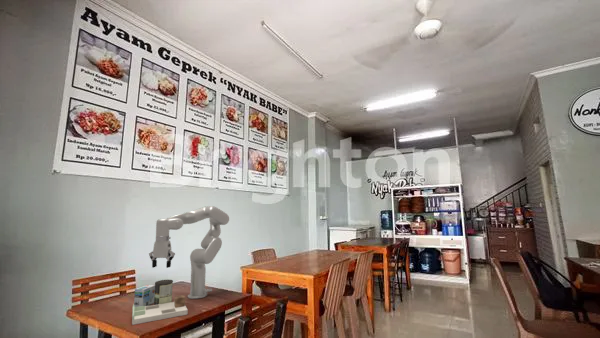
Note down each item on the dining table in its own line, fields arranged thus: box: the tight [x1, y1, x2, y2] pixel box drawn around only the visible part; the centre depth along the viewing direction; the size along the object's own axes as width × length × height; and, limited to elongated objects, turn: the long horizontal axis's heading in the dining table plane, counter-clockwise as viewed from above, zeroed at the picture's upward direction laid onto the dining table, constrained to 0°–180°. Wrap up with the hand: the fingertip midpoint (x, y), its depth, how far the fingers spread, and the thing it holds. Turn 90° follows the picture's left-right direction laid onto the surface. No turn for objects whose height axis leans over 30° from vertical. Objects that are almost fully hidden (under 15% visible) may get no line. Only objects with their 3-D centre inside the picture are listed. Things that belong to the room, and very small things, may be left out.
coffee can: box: [153, 279, 174, 305], centre depth 177 cm, size 10×10×14 cm
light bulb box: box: [133, 284, 155, 307], centre depth 178 cm, size 11×7×11 cm, turn 168°
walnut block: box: [174, 294, 186, 308], centre depth 167 cm, size 5×5×5 cm
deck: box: [131, 301, 189, 326], centre depth 161 cm, size 27×20×4 cm
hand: (161, 267), depth 174 cm, fingers open, 9 cm apart
